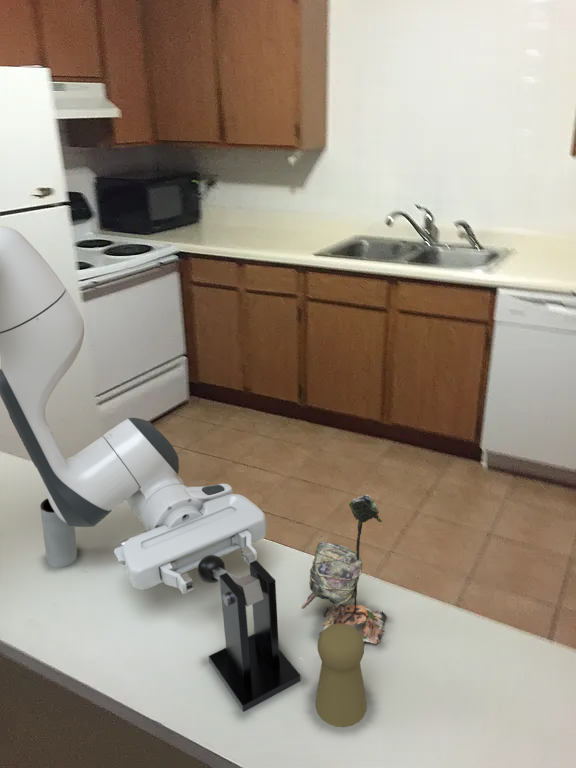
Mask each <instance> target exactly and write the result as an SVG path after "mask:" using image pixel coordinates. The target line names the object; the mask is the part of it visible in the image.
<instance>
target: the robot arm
mask: <svg viewBox="0 0 576 768" xmlns="http://www.w3.org/2000/svg"><path fill="white" fill-rule="evenodd" d="M79 310H80V309H79V308H78V306H77V304H76V303H75V301H74V299H73V298H72V296H71V294H70V293H69V291H68V289H66V286H65V285H64V284H63V282H62V280H61V279H60V278H59V276H58V275H57V274H56V272H55V271H54V269H53V268H52V267H51V265H49V263H48V262H47V261H46V259H45V258H44V257H43V256H42V254H40V252H39V251H38V250H37V249H36V248H35V247H34V246H33V244H31V243H30V241H29V240H28V239H26V237H25V236H24V235H23V234H22V233H20V231H18V230H16V229H14V228H12V227H8V226H4V225H0V399H1V400H2V402H3V404H4V406H5V409H6V410H7V413H8V416H9V418H10V420H11V423H12V425H13V426H14V429H15V430H16V432H17V434H18V436H19V438H20V439H21V440H20V441H21V442H22V444H23V446H24V447H25V449H26V451H27V454H28V455H29V457H30V459H31V462H32V463H33V465H34V467H35V468H36V469H37V471H38V473H39V476H40V477H41V480H42V484H43V487H44V491H45V495H46V497H47V498H48V500H49V502H50V505H51V507H52V508H53V510H54V512H55V513H56V514H57V515H58V517H59V518H60V519H61V520H62V521H64V522H65V523H67V524H68V525H69V526H75V527H76V528H77V527H79V528H90V527H95V526H96V525H98V524H99V523H100V522H101V521H102V520H103V519H105V518H106V517H107V516H108V515H109V514H110V513H111V512H112V511H113V509H115V508H116V507H118V506H119V505H121V504H122V503H124V502H125V501H126V503H127V505H128V507H129V508H130V510H131V511H132V513H133V514H134V516H136V518H137V519H139V520H140V521H141V523H142V526H143V528H144V529H145V531H144V532H141V533H139V534H136V535H135V536H132V537H130V538H126V539H124V540H122V541H120V542H119V545H117V546H116V547H115V548H114V549H113V556H114V558H115V560H116V561H117V562H118V563H119V564H121V565H125V569H126V572H127V573H126V574H127V576H128V579H129V581H130V583H131V585H132V587H133V588H134V589H136V590H139V591H145V590H148V589H150V588H152V587H155V586H157V585H159V584H162V583H164V584H165V585H166V586H169V587H173V588H175V589H179V591H180V592H181V594H183V595H185V594H187V593H189V592H191V591H193V590H194V589H195V588H194V581H193V578H192V576H190V574H189V573H188V572H189V571H191V570H193V569H196V568H198V565H199V563H200V561H201V560H202V559H203V558H204V557H206V556H208V555H215V556H218V557H220V558H221V557H224V556H226V555H228V554H230V553H232V552H236V551H237V550H240V549H241V559H242V560H243V561H244V563H245V564H246V565H247V566H248V565H249V566H250V563H251V562H253V561H255V560H257V561H259V558H258V552H257V550H256V548H255V547H254V546H253V544H254V543H255V542H259V541H260V540H263V539H264V538H266V535H267V531H268V527H267V518H266V514H265V513H264V512H263V511H262V510H261V508H259V506H258V505H256V504H255V503H253V502H252V501H251V500H250V499H248V498H247V497H246V496H244V495H242V494H238V493H234V491H233V488H232V486H231V485H230V484H228V483H218V484H213V485H204V486H187V485H186V484H185V483H184V481H183V479H182V477H180V475H179V470H180V463H179V462H180V459H179V456H178V454H177V451H176V449H175V448H174V446H173V445H172V444H171V442H170V441H169V440H168V439H167V438H166V437H165V435H164V434H163V433H162V432H160V431H159V429H157V428H156V426H155V425H153V423H152V422H150V420H147V419H142V418H138V417H128V418H126V419H124V420H123V421H121V422H119V423H118V424H117V425H116V426H114V427H112V428H111V429H110V430H107V432H105V433H104V434H102V435H101V437H98V438H97V439H96V440H95V441H93V442H92V443H90V444H89V445H88V446H86V447H84V448H83V449H82V450H80V451H79V452H78V453H77V452H76V454H74V455H72V456H70V457H64V454H63V453H62V450H61V449H60V447H59V444H58V442H57V440H56V439H55V436H54V434H53V432H52V430H51V428H50V425H49V423H48V422H47V419H46V407H47V403H48V401H49V400H50V397H51V395H52V393H53V391H54V390H55V388H56V387H57V385H58V384H59V383H60V381H61V380H62V378H63V377H64V376H65V375H66V373H67V372H68V371H69V369H70V368H71V367H72V366H73V364H74V362H75V361H76V359H77V357H78V355H79V353H80V351H81V348H82V345H83V341H84V336H85V324H84V323H85V322H84V319H83V317H82V314H81V312H80V311H79Z"/></svg>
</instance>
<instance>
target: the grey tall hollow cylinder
mask: <svg viewBox="0 0 576 768" xmlns="http://www.w3.org/2000/svg"><path fill="white" fill-rule="evenodd" d="M39 507H40V508H39V509H40V516H41V525H42V533H43V540H44V549H45V556H46V562H47V564H48V566H50V567H51V568H56V569H60V568H65V567H68V566H70V565H72V564H73V563H74V562H76V560H77V558H78V547H77V538H76V529H75V526H69V525H68V524H67V523H65V522H64V521H62V520H61V519H60V518H59V517H58V515H57V514H56V513H55V512H54V510H53V508H52V507H51V505H50V502H49V500H48V497H47V498H45V499H44V500H43V501H41V503H40V505H39Z"/></svg>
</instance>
